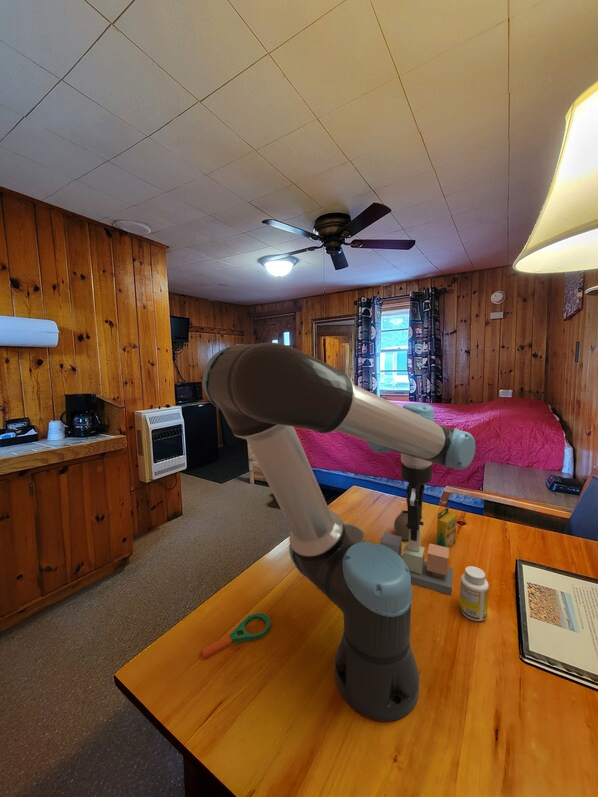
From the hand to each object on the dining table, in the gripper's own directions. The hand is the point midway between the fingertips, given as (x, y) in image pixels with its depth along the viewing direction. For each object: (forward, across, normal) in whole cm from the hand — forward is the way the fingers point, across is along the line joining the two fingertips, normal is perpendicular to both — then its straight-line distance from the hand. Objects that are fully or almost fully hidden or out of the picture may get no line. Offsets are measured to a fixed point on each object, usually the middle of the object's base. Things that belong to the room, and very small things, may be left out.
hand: (414, 549), depth 86 cm
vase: (+8, +17, +5) cm, 19 cm away
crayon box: (+8, +17, -7) cm, 20 cm away
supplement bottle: (+7, -8, -14) cm, 18 cm away
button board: (+7, 0, 0) cm, 7 cm away
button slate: (+3, 0, +6) cm, 7 cm away
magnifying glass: (+8, -37, +30) cm, 48 cm away
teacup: (+7, -2, +20) cm, 22 cm away
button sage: (+5, 0, 0) cm, 5 cm away
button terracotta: (+3, 0, -6) cm, 7 cm away
